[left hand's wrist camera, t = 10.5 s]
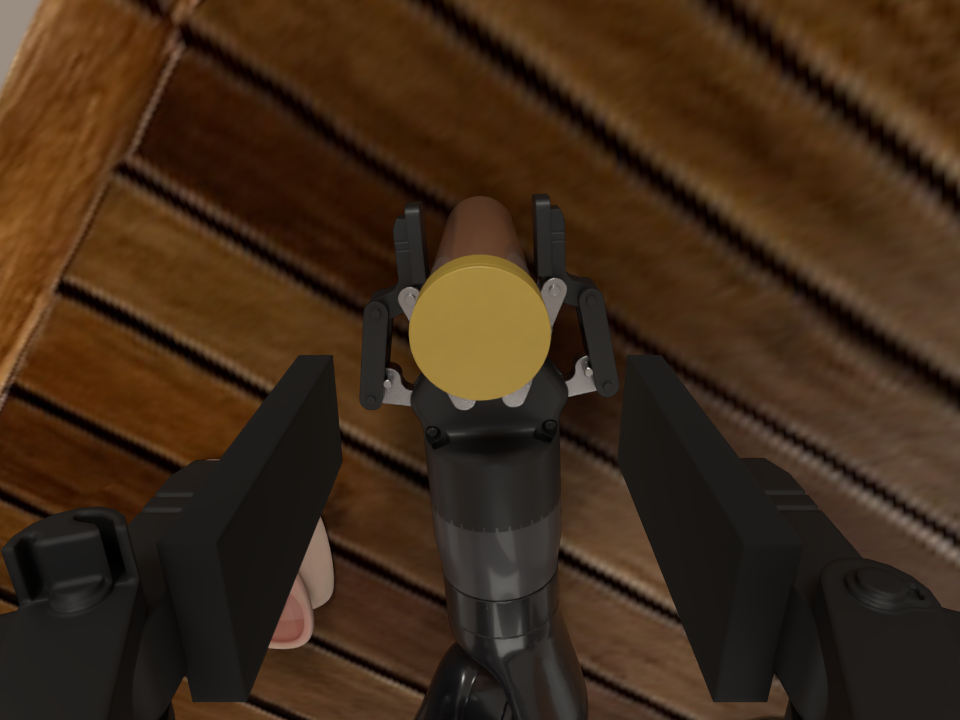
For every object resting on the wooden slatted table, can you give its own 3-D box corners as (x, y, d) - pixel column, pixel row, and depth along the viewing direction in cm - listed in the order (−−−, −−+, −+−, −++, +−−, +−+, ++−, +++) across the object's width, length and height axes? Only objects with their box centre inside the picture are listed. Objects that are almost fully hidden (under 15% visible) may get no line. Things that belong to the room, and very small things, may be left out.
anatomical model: (131, 487, 38) (318, 499, 38) (161, 454, 42) (332, 465, 42) (156, 650, 43) (322, 660, 43) (181, 608, 47) (334, 617, 47)
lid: (394, 350, 21) (387, 369, 19) (445, 231, 20) (441, 242, 18) (511, 398, 22) (514, 420, 20) (568, 287, 20) (576, 301, 19)
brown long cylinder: (435, 248, 37) (396, 361, 20) (462, 184, 35) (445, 247, 18) (496, 275, 37) (510, 408, 20) (525, 213, 36) (566, 300, 19)
